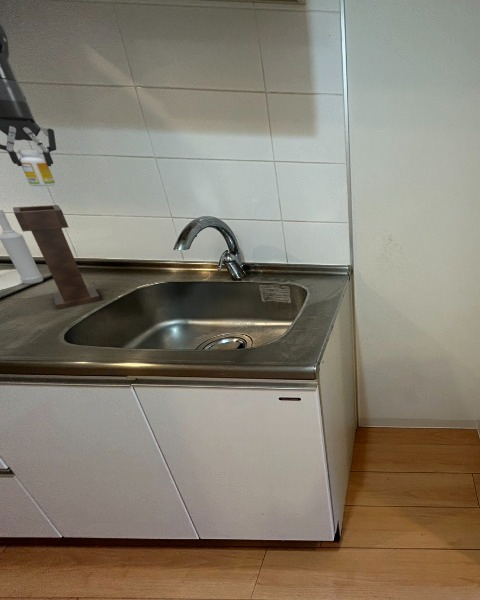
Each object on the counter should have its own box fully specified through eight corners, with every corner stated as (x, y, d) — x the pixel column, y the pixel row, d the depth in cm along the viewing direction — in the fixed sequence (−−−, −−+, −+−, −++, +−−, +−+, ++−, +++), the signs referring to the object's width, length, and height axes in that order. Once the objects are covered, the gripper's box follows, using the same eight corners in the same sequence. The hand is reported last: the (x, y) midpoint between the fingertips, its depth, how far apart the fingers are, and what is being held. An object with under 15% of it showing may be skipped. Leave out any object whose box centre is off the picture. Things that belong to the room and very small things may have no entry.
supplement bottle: (55, 183, 97) (41, 150, 93) (56, 186, 94) (41, 150, 90) (30, 184, 94) (14, 149, 89) (29, 186, 90) (13, 150, 86)
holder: (57, 309, 94) (10, 213, 81) (54, 298, 100) (10, 207, 87) (100, 299, 101) (64, 210, 88) (95, 290, 107) (60, 204, 94)
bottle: (42, 277, 113) (8, 208, 102) (45, 281, 110) (11, 210, 99) (21, 281, 109) (-17, 209, 98) (24, 285, 106) (-14, 212, 95)
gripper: (43, 103, 91) (66, 165, 98) (-37, 95, 81) (-4, 164, 88) (46, 102, 87) (70, 167, 94) (-38, 93, 77) (-3, 167, 84)
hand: (34, 165), depth 91 cm, fingers closed on supplement bottle, 5 cm apart
